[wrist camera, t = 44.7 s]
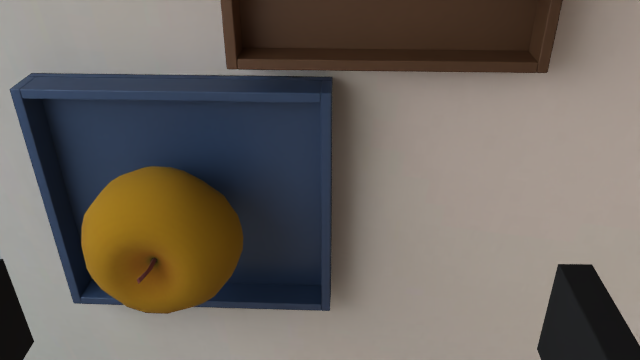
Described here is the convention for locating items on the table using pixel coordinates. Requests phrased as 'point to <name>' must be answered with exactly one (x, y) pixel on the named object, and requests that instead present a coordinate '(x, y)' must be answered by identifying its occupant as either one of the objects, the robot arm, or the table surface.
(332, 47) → the medicine tray
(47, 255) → the table surface
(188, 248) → the apple
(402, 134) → the table surface
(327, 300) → the fruit tray
